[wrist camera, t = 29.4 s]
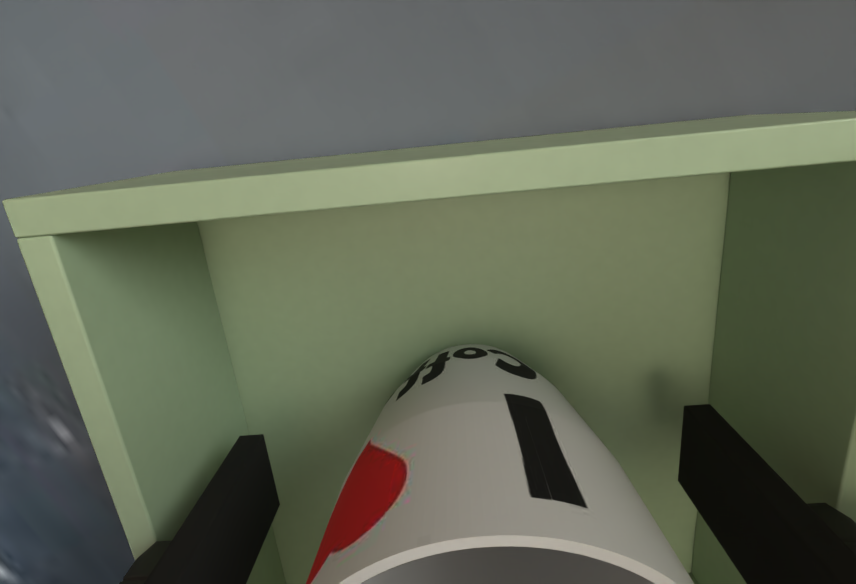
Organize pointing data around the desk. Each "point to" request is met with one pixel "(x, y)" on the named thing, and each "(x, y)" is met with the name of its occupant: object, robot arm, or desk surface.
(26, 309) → the desk surface
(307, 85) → the desk surface
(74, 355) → the chest
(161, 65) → the desk surface
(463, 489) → the cup
